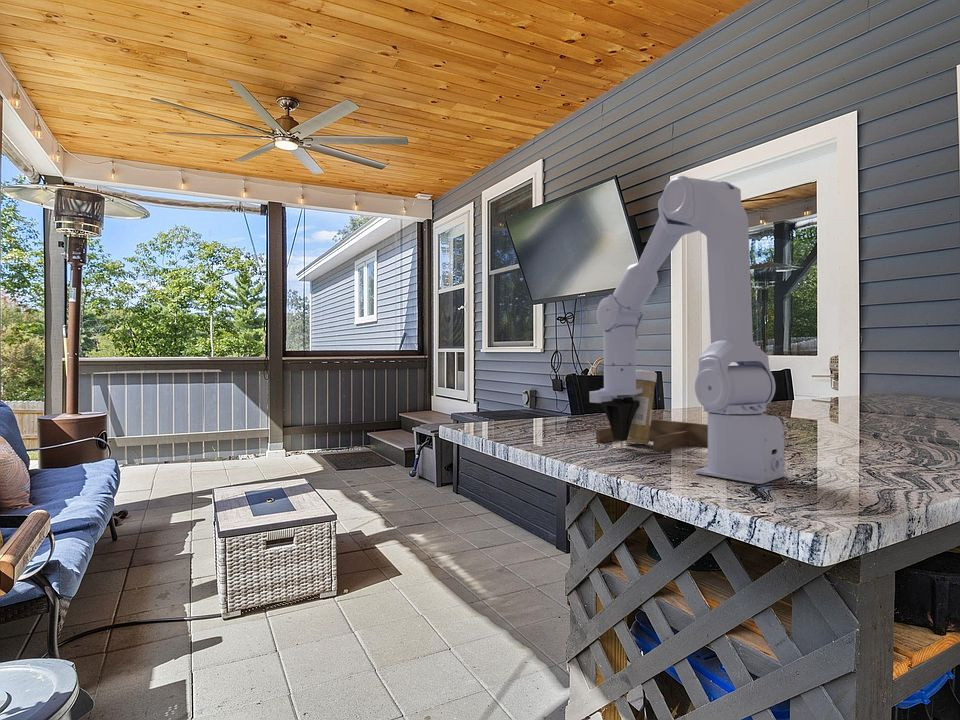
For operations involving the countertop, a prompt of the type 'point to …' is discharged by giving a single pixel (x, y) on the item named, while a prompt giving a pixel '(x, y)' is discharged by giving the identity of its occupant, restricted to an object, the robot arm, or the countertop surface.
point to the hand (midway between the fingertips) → (620, 439)
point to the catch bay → (667, 434)
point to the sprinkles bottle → (643, 407)
